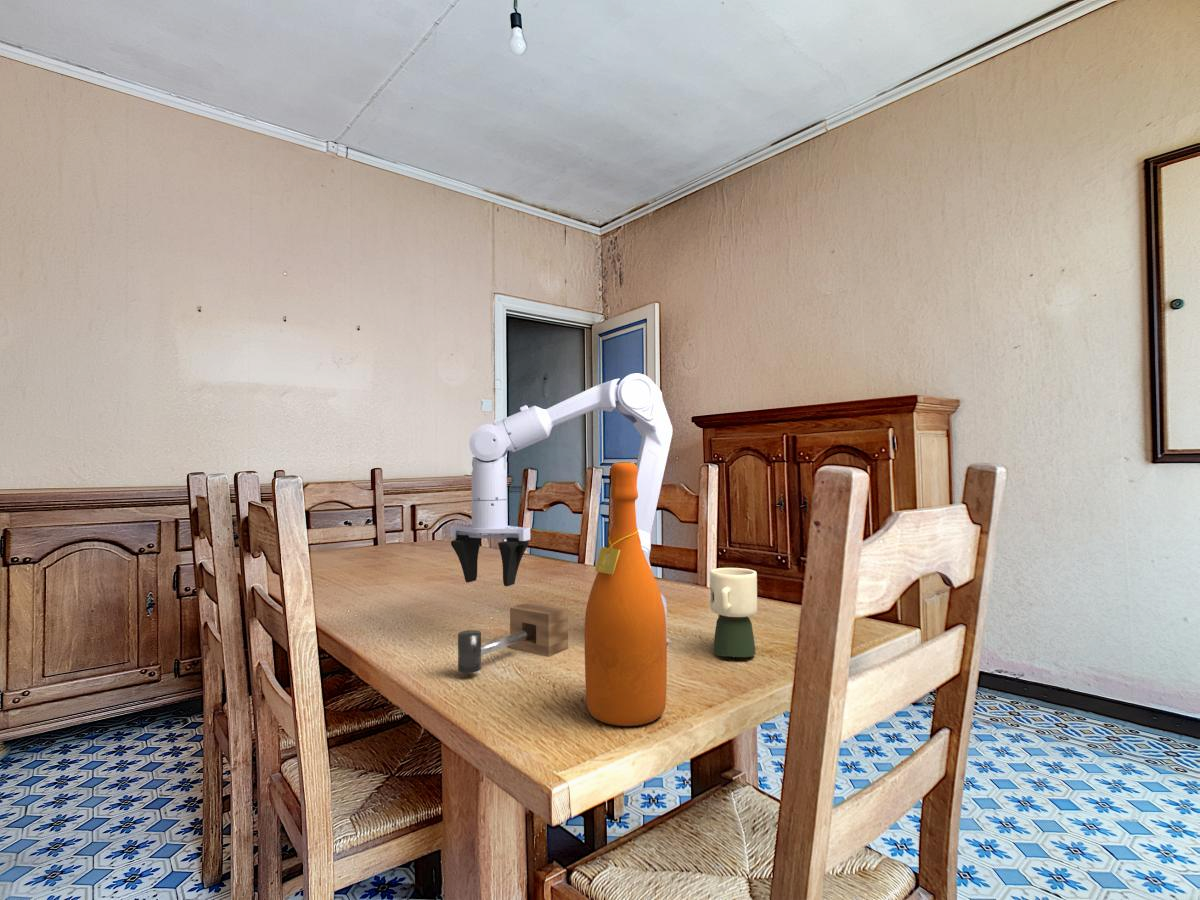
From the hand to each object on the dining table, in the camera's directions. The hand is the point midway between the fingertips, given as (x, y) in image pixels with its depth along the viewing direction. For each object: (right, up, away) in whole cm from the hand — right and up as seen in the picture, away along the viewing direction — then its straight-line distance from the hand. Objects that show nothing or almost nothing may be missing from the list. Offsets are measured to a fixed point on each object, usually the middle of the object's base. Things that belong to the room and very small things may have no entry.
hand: (489, 583), depth 99 cm
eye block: (+8, -10, -1) cm, 13 cm away
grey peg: (+2, -9, -9) cm, 13 cm away
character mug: (+39, -10, -6) cm, 40 cm away
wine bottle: (+21, -10, -26) cm, 35 cm away
